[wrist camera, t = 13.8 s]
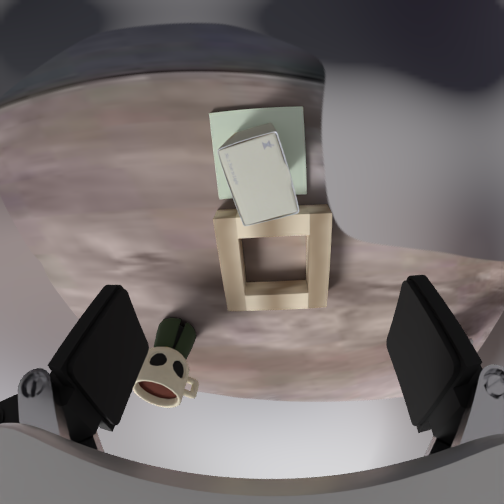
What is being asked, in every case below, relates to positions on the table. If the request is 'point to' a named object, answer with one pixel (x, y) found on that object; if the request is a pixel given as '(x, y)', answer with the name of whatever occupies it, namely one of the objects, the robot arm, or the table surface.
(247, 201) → the skincare box
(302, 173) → the sage mat
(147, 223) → the table surface
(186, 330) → the character mug
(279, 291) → the holder block
